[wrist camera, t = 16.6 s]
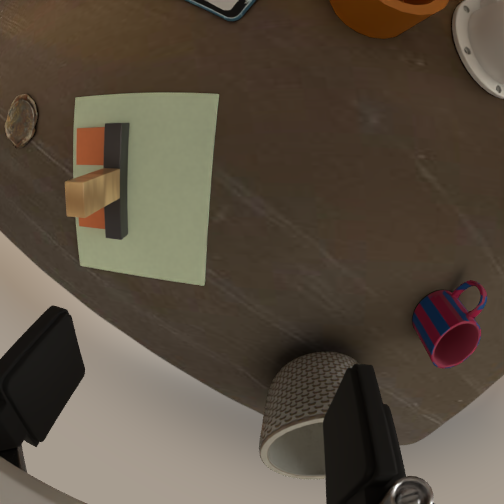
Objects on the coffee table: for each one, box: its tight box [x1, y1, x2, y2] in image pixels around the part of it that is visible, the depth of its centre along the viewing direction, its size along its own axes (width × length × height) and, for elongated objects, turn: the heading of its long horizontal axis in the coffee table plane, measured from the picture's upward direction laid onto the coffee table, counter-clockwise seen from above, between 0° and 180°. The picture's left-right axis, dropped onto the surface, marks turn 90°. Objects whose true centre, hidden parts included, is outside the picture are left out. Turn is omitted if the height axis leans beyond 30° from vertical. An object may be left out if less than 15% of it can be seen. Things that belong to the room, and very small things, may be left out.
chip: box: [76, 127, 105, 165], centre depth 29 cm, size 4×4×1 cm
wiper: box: [65, 123, 130, 240], centre depth 26 cm, size 12×2×8 cm, turn 174°
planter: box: [259, 352, 360, 479], centre depth 33 cm, size 14×14×13 cm
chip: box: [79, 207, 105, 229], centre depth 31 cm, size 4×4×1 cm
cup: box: [412, 280, 487, 368], centre depth 30 cm, size 7×10×7 cm
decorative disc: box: [5, 94, 38, 149], centre depth 28 cm, size 6×6×1 cm
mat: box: [73, 93, 219, 286], centre depth 31 cm, size 20×16×1 cm
